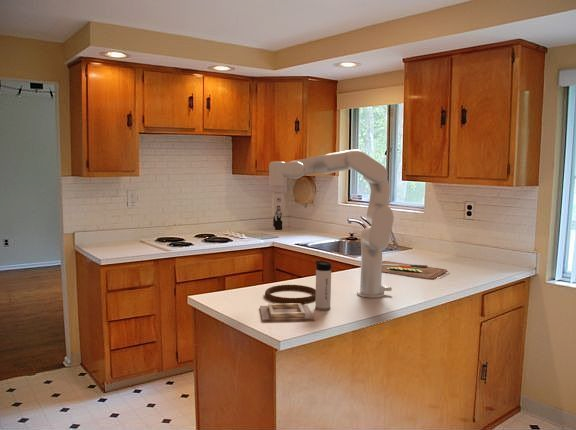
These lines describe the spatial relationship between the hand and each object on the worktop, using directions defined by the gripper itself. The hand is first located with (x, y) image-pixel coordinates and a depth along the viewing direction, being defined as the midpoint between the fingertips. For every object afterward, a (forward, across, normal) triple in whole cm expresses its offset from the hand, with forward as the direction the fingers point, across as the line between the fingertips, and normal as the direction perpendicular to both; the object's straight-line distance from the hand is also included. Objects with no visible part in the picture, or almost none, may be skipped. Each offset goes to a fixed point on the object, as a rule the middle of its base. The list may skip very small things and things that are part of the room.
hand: (277, 228), depth 230 cm
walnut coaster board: (+31, -26, -2) cm, 40 cm away
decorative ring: (+32, +2, -9) cm, 33 cm away
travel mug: (+32, -18, -18) cm, 40 cm away
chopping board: (+33, +52, -76) cm, 97 cm away
